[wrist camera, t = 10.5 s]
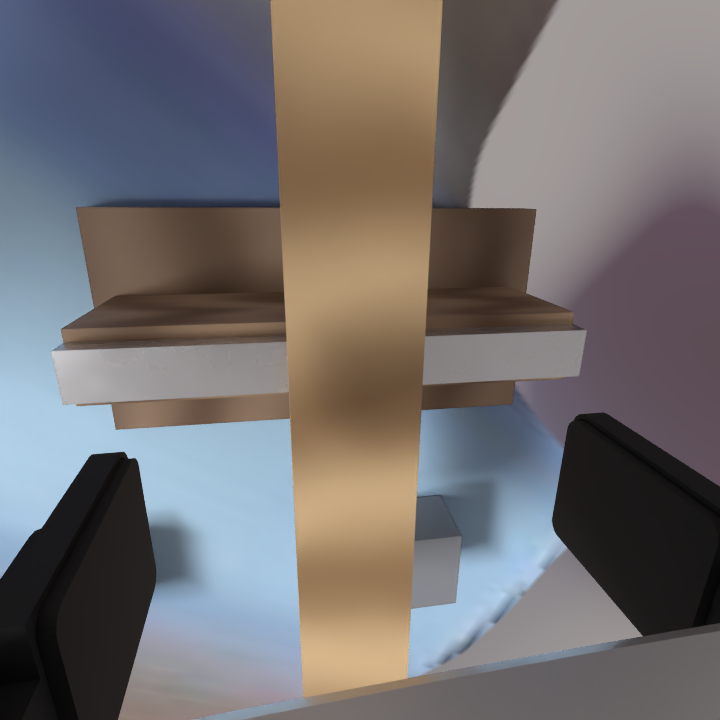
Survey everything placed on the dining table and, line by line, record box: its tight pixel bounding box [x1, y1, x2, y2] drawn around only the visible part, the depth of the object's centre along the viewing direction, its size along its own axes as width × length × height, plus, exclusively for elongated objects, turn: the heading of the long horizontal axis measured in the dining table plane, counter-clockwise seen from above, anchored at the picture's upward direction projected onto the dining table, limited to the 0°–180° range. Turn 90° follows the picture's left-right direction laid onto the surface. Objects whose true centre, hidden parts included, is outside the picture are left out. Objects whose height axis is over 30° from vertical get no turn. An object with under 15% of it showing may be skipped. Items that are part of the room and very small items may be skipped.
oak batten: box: [270, 0, 443, 698], centre depth 16 cm, size 26×4×4 cm, turn 0°
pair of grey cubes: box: [411, 495, 462, 609], centre depth 28 cm, size 23×5×4 cm, turn 90°
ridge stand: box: [51, 207, 587, 430], centre depth 22 cm, size 22×11×8 cm, turn 90°
